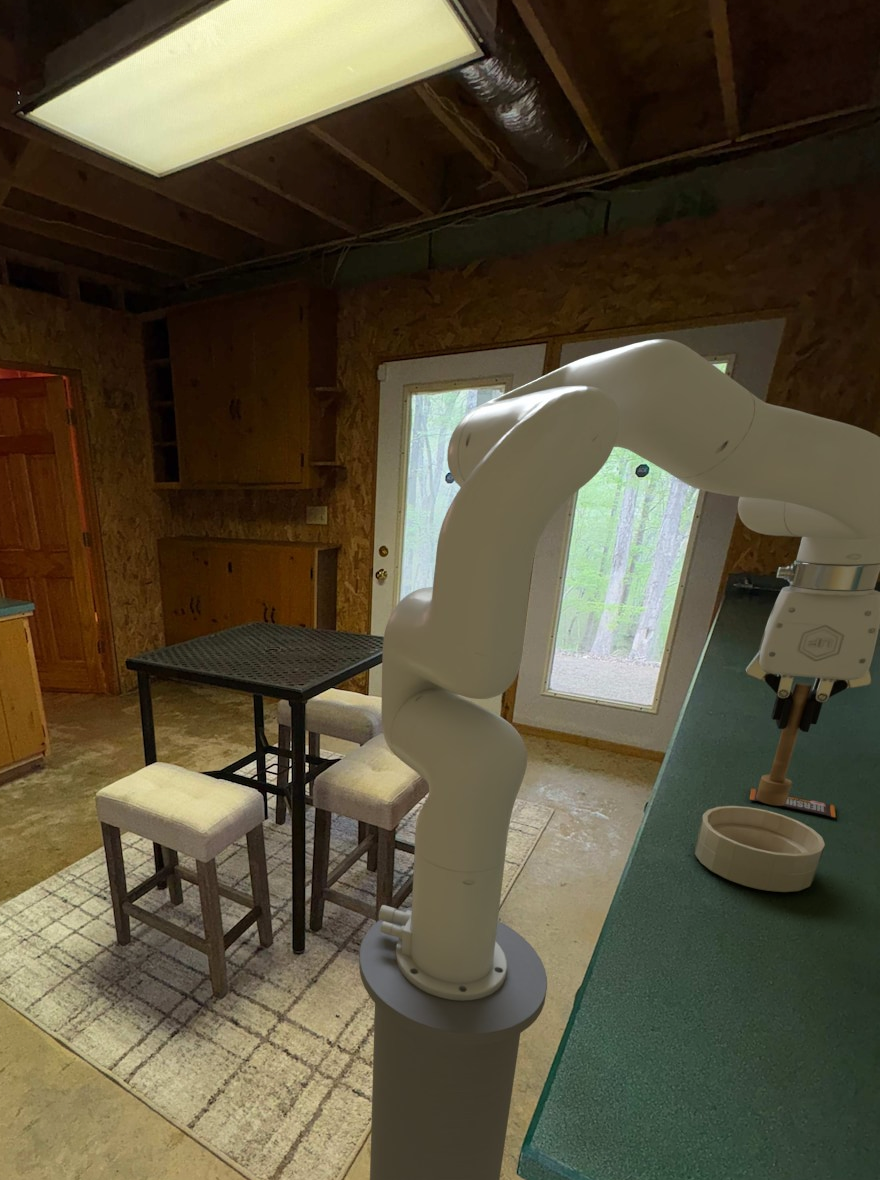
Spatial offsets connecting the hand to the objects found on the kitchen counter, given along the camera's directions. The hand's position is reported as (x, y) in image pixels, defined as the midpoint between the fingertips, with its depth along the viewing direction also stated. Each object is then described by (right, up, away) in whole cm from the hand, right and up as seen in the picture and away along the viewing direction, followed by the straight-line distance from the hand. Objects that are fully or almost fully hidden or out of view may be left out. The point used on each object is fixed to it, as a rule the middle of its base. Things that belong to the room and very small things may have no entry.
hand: (791, 726), depth 78 cm
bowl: (0, -19, +8) cm, 21 cm away
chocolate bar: (+19, -13, +23) cm, 32 cm away
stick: (0, -10, +4) cm, 10 cm away
